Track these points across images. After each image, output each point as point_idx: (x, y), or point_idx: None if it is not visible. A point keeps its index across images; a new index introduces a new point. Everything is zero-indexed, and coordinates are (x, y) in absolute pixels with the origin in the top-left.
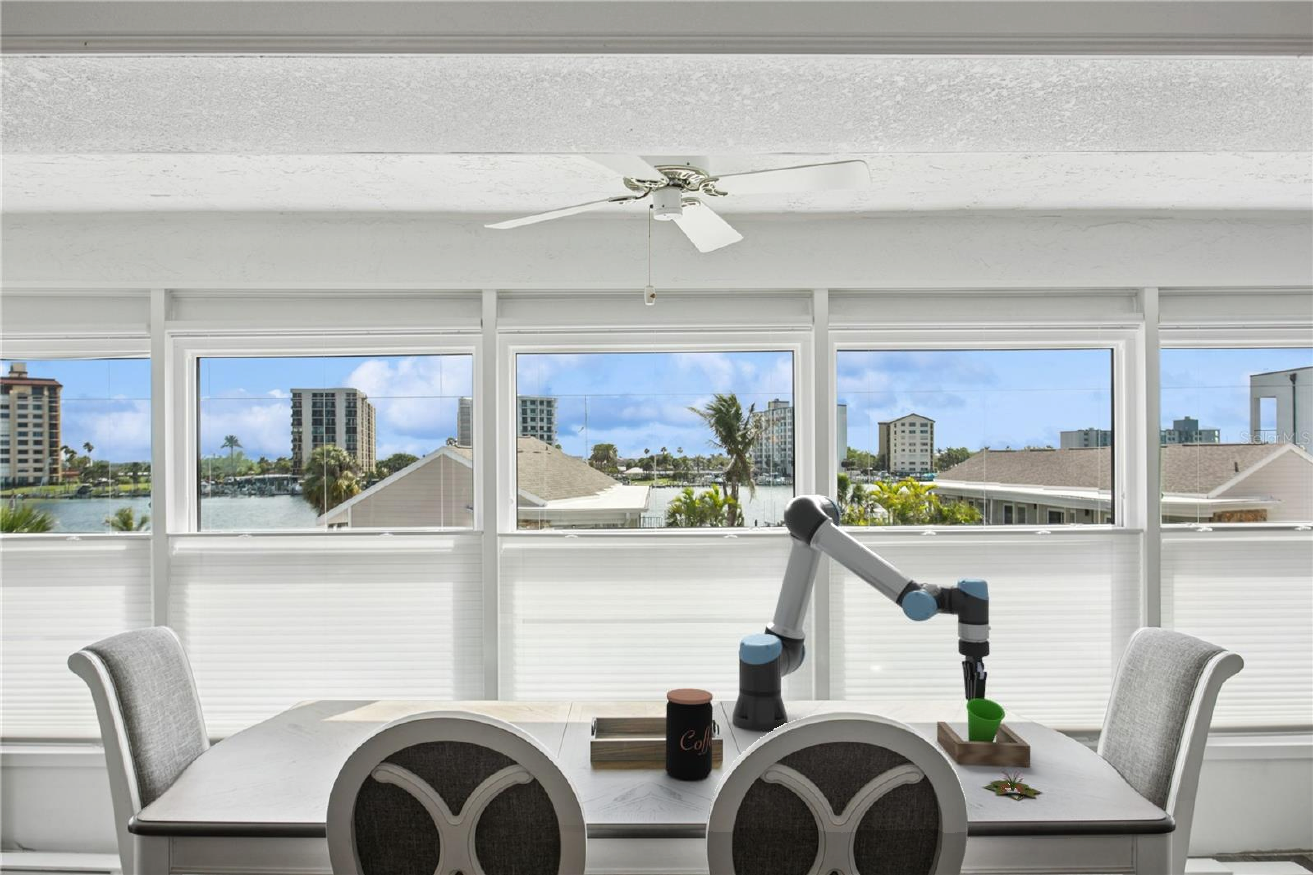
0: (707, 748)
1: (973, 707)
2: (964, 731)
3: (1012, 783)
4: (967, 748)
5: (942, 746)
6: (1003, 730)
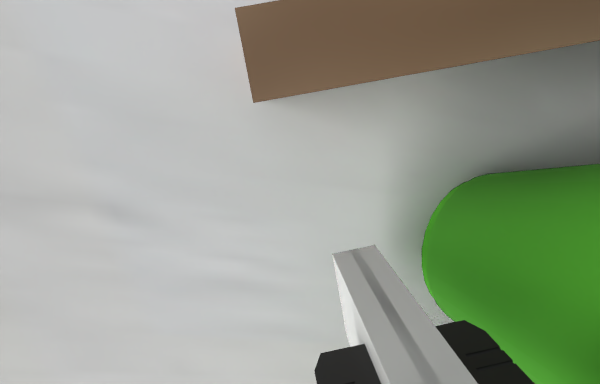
0: None
1: None
2: (27, 291)
3: None
4: None
5: None
6: (491, 59)
